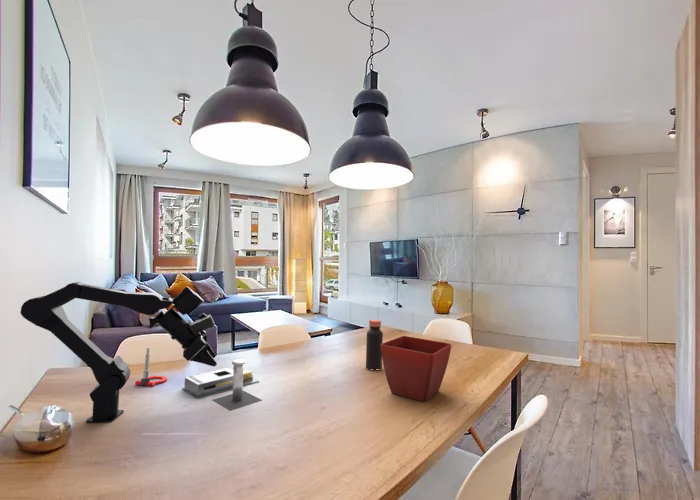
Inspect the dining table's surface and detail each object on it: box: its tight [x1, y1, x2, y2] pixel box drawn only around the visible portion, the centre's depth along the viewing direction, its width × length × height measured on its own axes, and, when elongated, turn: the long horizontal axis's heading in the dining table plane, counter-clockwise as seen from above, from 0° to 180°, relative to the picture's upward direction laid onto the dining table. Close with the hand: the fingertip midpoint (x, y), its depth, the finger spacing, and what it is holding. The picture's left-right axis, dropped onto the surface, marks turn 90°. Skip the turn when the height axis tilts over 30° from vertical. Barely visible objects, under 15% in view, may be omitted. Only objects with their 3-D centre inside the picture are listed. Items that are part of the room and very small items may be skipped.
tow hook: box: [134, 347, 168, 388], centre depth 123 cm, size 8×13×9 cm
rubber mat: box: [212, 390, 263, 412], centre depth 108 cm, size 11×11×1 cm
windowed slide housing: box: [181, 367, 260, 400], centre depth 120 cm, size 22×12×4 cm, turn 138°
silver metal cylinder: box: [231, 358, 246, 402], centre depth 108 cm, size 4×4×12 cm
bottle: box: [365, 319, 384, 371], centre depth 146 cm, size 7×7×20 cm
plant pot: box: [381, 335, 452, 403], centre depth 120 cm, size 19×19×17 cm
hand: (215, 360), depth 106 cm, fingers open, 9 cm apart
